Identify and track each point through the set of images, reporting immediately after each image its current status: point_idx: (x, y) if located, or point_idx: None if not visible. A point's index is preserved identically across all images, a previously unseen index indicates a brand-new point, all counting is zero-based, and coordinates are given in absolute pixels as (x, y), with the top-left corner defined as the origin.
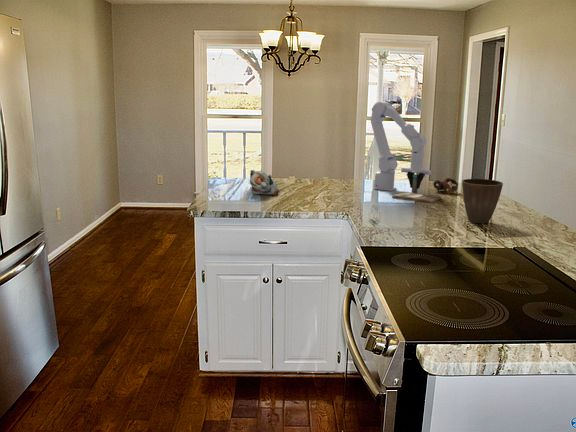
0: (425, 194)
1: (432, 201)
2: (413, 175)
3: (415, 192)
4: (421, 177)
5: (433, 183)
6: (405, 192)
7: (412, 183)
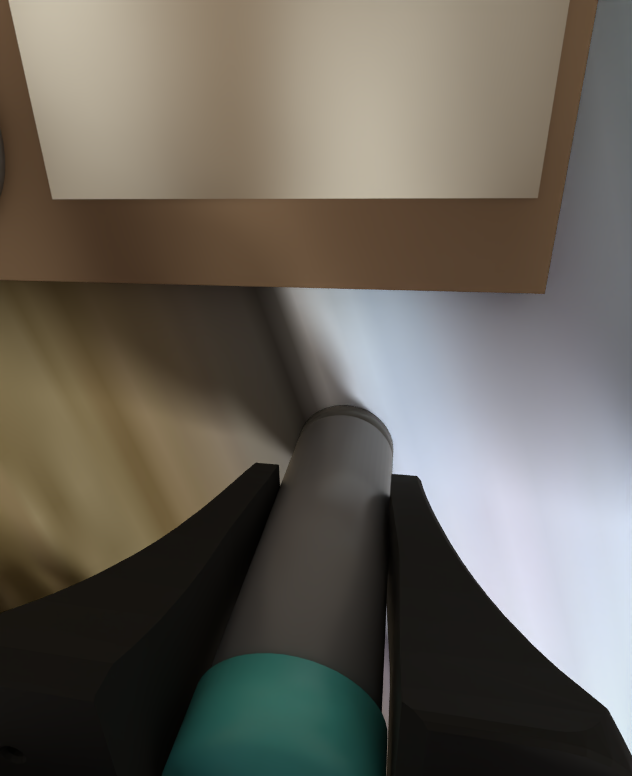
0: (58, 257)
1: None
2: (325, 740)
3: (312, 421)
4: (14, 614)
5: None
6: (449, 192)
7: (370, 537)
